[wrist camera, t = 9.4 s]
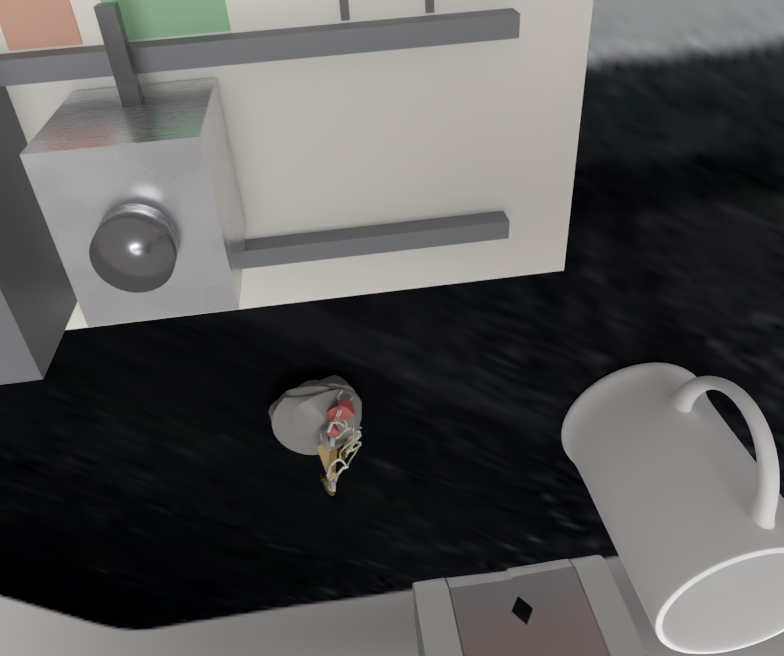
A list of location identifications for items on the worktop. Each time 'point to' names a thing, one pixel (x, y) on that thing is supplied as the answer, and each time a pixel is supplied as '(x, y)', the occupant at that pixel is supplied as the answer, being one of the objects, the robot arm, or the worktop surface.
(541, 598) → the robot arm
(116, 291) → the metal box with knob
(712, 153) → the worktop surface
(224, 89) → the gauge board
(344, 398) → the figurine
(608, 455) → the mug
